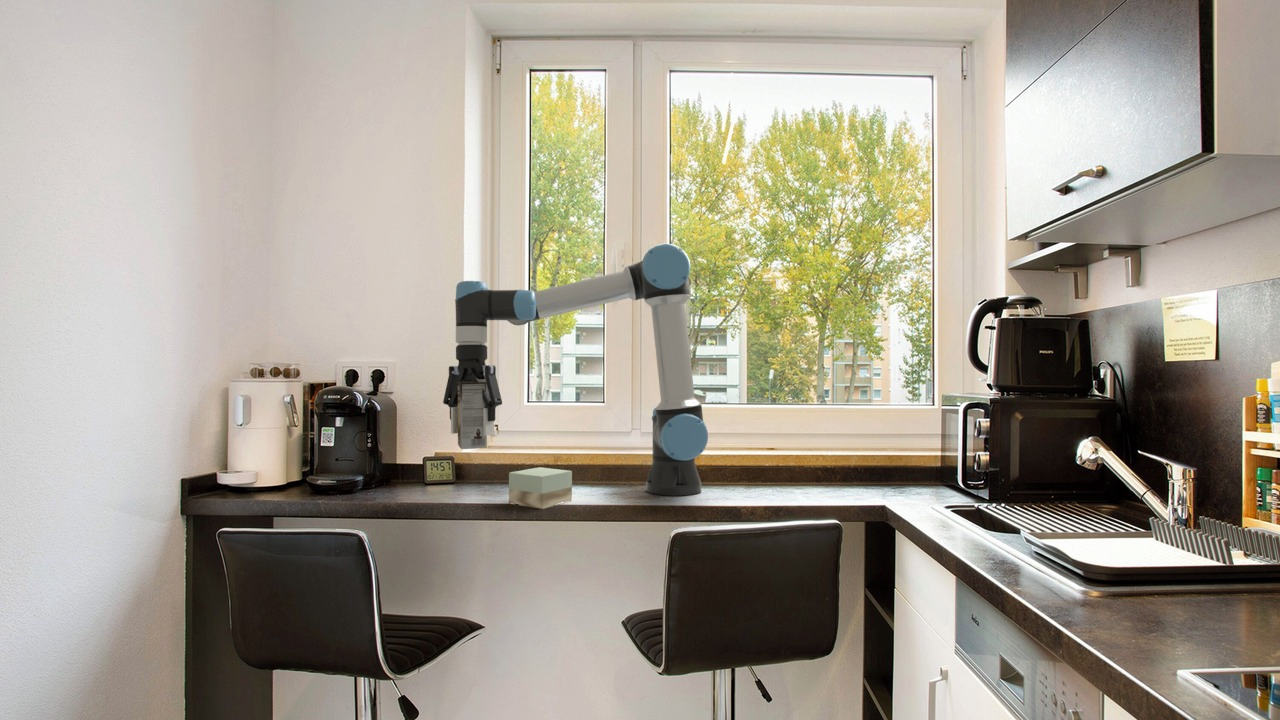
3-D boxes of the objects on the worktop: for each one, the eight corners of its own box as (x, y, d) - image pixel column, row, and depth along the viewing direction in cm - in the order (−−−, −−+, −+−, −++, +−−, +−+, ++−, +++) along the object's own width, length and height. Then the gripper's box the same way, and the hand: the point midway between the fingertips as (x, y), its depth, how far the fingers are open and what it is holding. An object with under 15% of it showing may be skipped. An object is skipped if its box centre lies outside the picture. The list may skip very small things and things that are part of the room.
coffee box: (456, 445, 159) (456, 381, 159) (482, 444, 161) (482, 381, 161) (460, 449, 150) (460, 381, 150) (488, 448, 152) (487, 381, 153)
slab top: (571, 486, 159) (571, 471, 159) (542, 493, 150) (542, 476, 150) (539, 482, 165) (539, 467, 166) (508, 488, 156) (509, 472, 156)
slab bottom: (571, 502, 159) (571, 486, 160) (542, 510, 150) (543, 493, 150) (538, 498, 165) (538, 482, 165) (508, 505, 156) (508, 489, 156)
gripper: (517, 343, 153) (517, 434, 153) (451, 346, 165) (451, 431, 165) (494, 342, 147) (495, 437, 146) (427, 345, 159) (428, 433, 158)
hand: (472, 434), depth 156 cm, fingers closed on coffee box, 10 cm apart
